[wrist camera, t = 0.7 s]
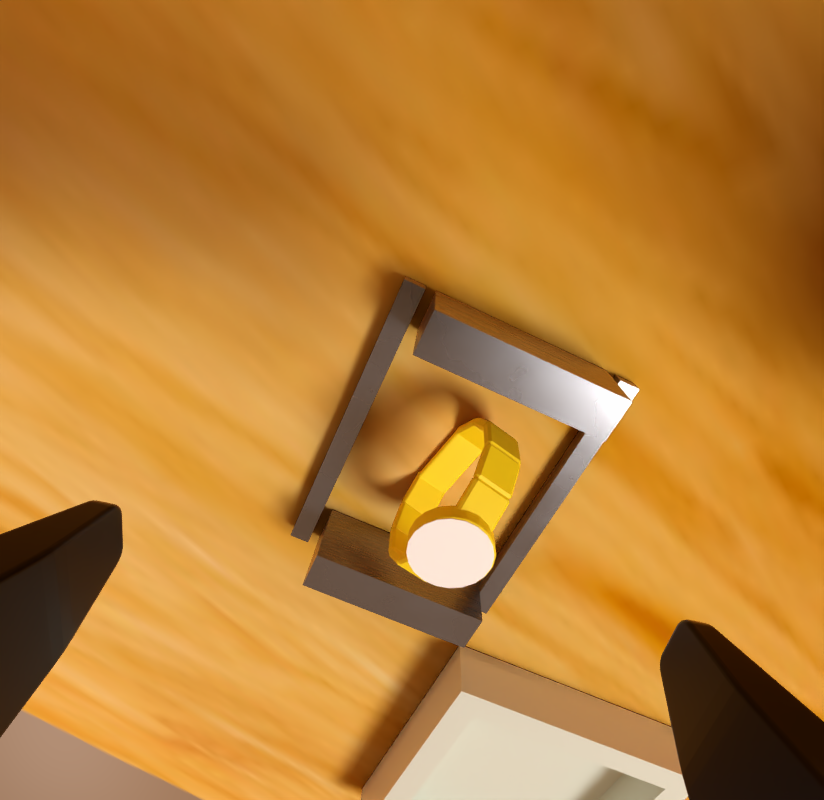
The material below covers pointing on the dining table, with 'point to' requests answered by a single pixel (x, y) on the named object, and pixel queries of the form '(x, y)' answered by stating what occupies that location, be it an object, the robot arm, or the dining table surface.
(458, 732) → the parts tray
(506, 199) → the dining table surface
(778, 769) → the robot arm
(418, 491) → the watch
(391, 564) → the grey rectangular open frame
